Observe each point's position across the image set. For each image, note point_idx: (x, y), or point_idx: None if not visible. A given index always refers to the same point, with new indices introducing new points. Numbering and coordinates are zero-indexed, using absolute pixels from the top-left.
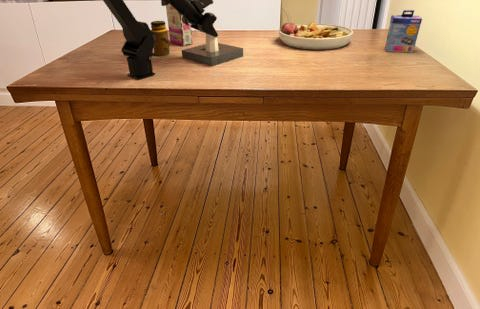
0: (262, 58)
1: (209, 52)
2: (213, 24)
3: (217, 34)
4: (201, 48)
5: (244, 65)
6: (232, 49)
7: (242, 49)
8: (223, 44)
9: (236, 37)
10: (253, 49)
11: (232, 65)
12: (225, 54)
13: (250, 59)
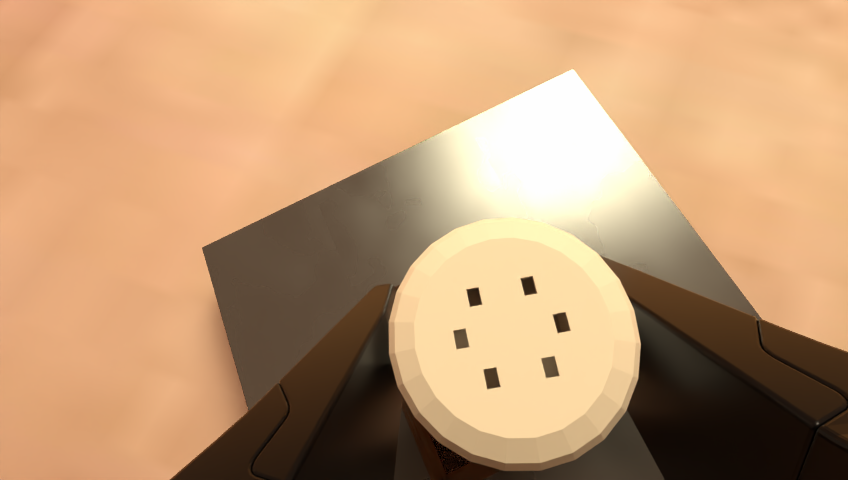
0: (666, 14)
1: (623, 434)
2: (605, 275)
3: (608, 264)
4: (396, 461)
5: (836, 182)
6: (583, 165)
7: (577, 83)
8: (354, 186)
9: (42, 18)
10: (401, 4)
11: (812, 273)
12: (723, 279)
13: (664, 92)
